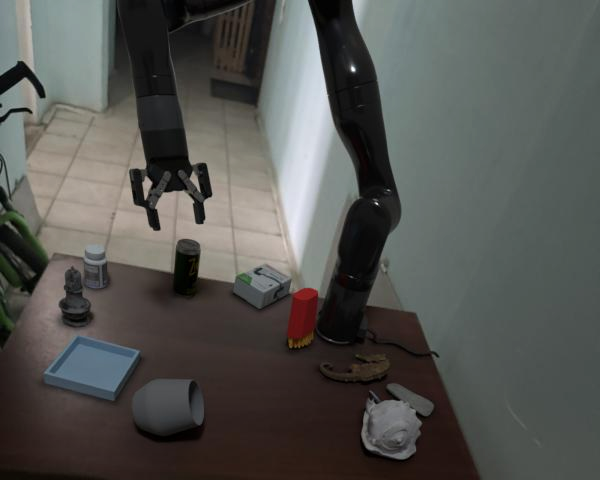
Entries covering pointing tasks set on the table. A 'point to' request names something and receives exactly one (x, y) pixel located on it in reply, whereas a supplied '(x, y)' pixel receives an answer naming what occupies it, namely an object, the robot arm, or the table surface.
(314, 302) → the french fries
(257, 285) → the ink box
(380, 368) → the seahorse
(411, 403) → the decorative stone
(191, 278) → the beer can
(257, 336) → the table surface
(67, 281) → the grey chess piece
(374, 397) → the pen
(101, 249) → the pill bottle
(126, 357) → the tray
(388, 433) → the seashell
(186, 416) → the cup
